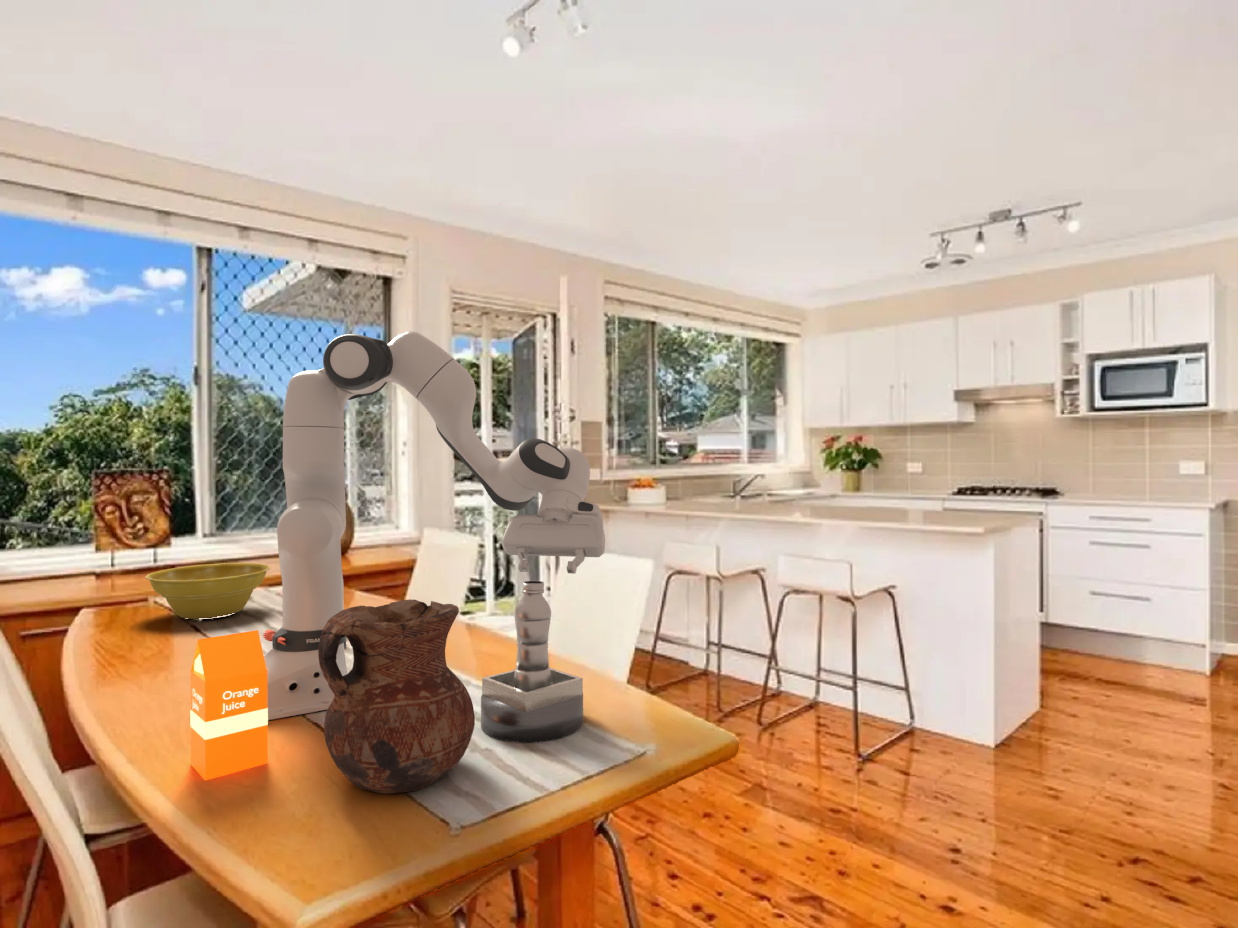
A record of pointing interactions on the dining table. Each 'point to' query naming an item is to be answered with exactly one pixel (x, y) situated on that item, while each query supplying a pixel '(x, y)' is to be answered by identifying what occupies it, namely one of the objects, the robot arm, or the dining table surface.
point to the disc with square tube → (531, 708)
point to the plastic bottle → (532, 638)
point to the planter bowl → (208, 588)
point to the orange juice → (228, 705)
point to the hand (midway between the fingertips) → (546, 570)
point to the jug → (395, 696)
